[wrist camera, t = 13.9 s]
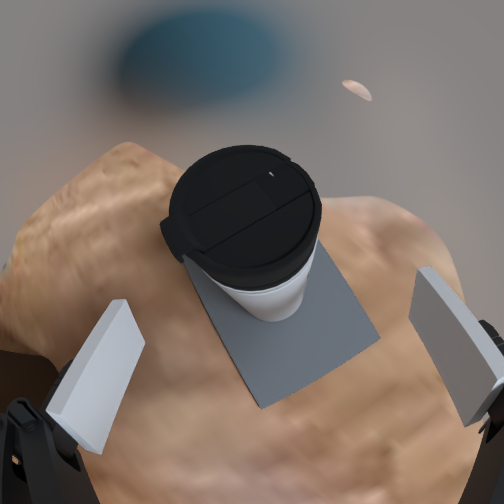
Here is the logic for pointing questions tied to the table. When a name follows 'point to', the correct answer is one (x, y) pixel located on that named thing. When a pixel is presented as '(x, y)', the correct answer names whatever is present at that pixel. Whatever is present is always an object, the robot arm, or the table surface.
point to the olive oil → (25, 378)
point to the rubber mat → (290, 331)
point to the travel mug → (248, 226)
